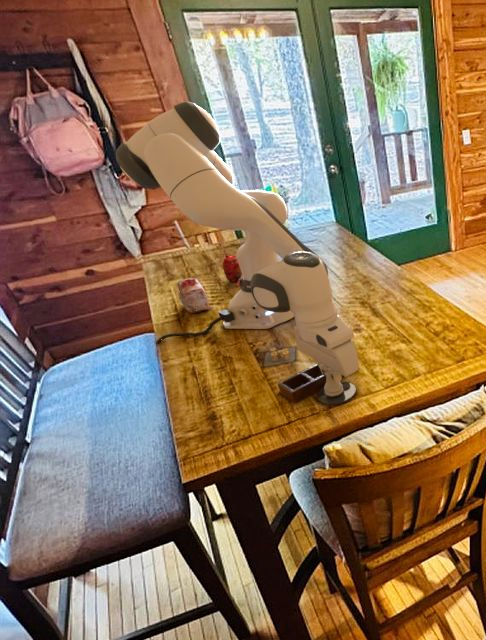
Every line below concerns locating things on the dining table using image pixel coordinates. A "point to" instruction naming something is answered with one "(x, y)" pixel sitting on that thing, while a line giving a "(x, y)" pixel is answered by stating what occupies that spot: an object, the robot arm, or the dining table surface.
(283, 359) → the dice set
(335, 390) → the rook chess piece
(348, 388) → the coaster
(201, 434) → the dining table surface
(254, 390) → the dining table surface
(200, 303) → the food item
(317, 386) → the spice rack
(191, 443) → the dining table surface
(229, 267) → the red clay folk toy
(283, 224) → the robot arm
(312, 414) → the dining table surface
